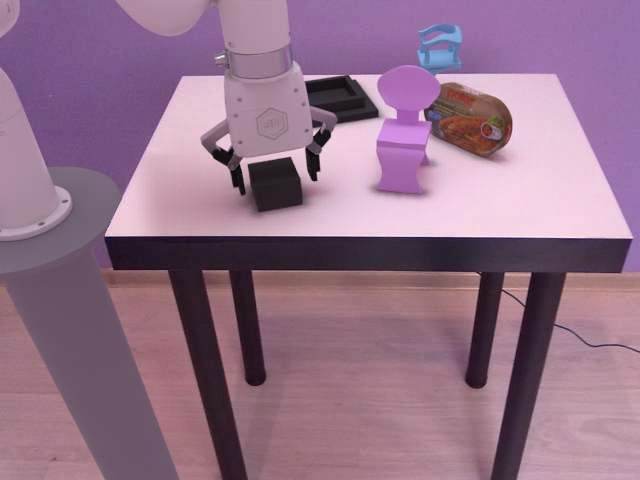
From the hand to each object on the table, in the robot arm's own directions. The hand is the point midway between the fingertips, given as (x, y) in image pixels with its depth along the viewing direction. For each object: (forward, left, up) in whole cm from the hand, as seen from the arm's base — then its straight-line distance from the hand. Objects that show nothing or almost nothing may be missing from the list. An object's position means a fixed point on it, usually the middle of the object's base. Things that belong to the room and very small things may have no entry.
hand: (277, 183), depth 83 cm
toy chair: (+18, -1, -2) cm, 18 cm away
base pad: (+14, +24, -2) cm, 28 cm away
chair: (+32, +21, -2) cm, 38 cm away
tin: (+30, +5, -2) cm, 30 cm away
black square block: (0, 0, -2) cm, 2 cm away
